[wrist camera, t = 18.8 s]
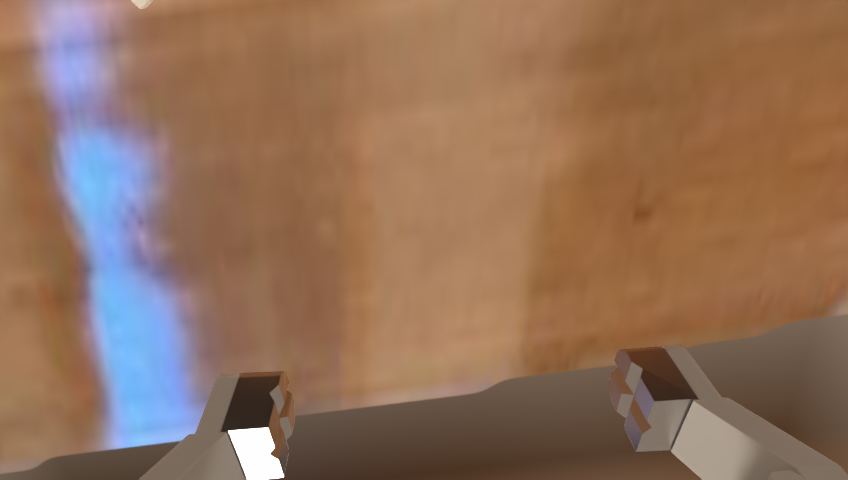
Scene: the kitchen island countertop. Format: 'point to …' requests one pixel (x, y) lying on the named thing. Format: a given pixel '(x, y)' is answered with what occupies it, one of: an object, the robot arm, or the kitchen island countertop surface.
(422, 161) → the kitchen island countertop surface
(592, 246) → the kitchen island countertop surface
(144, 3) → the post board
